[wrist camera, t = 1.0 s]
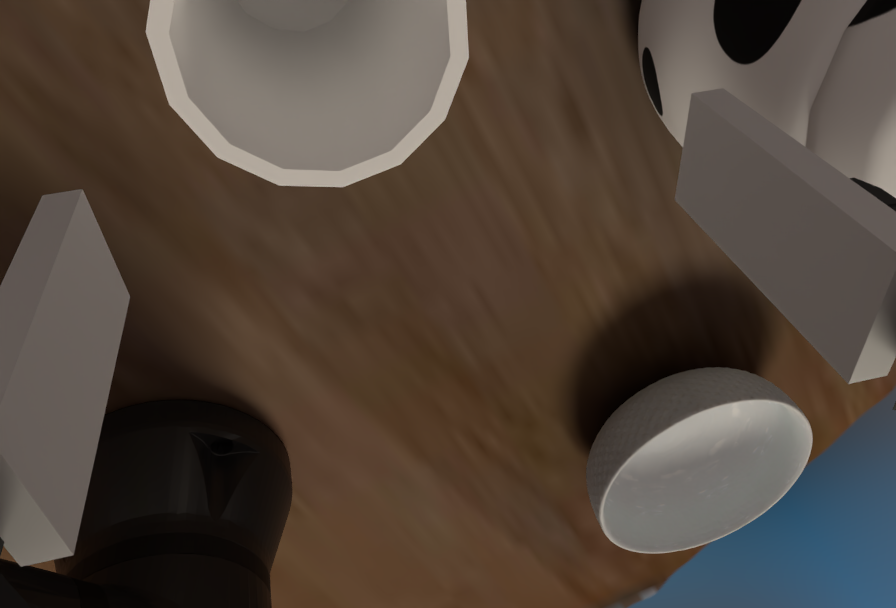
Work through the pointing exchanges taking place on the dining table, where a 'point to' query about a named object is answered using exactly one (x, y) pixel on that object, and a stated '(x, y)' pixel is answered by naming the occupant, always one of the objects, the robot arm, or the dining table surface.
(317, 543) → the dining table surface
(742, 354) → the dining table surface
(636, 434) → the cereal bowl
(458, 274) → the dining table surface
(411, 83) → the foam cup
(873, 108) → the milk container
